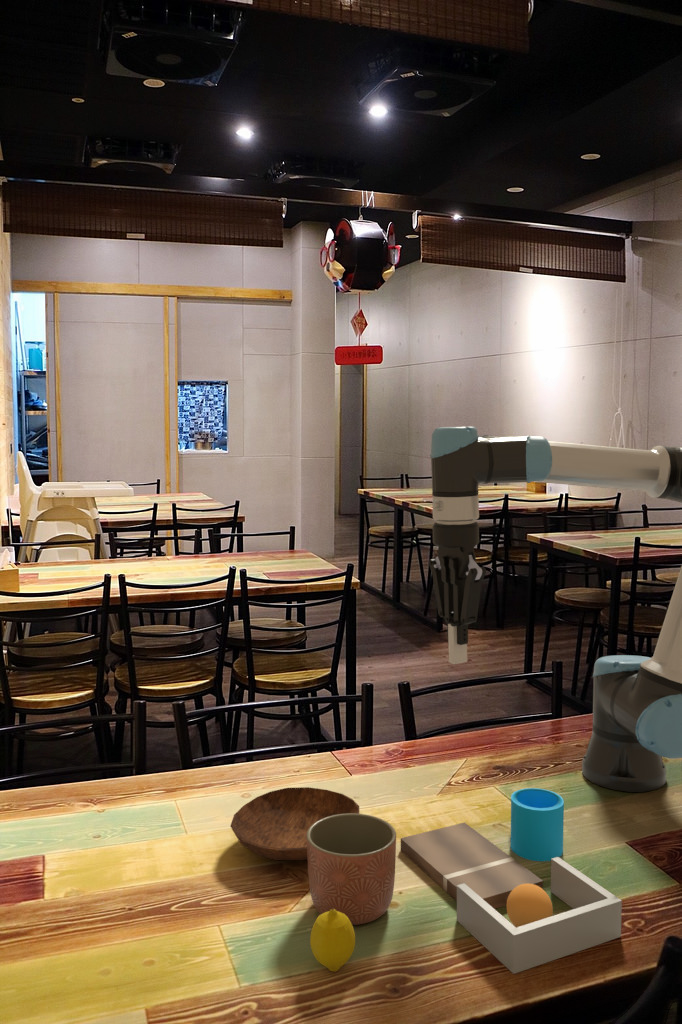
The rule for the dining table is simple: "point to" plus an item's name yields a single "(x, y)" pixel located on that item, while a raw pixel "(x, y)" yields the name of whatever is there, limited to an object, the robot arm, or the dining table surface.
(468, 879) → the board
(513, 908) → the ball
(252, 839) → the bowl
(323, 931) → the fruit
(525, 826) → the mug
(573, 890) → the grey frame
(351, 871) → the planter
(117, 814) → the dining table surface
